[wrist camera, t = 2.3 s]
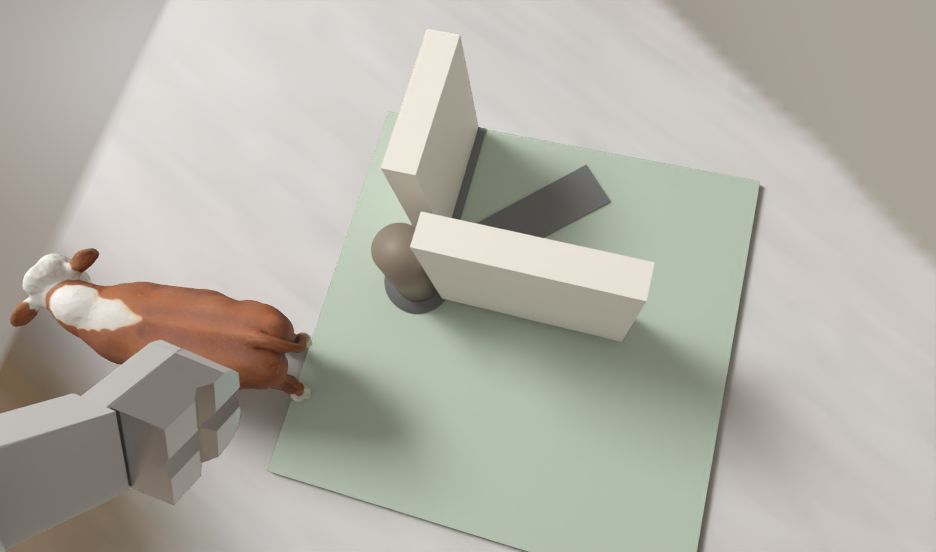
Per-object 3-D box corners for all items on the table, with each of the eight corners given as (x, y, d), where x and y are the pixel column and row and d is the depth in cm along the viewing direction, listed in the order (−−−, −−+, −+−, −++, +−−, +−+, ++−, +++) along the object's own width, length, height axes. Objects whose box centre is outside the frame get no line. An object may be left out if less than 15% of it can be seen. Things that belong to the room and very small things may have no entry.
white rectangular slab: (441, 298, 32) (409, 247, 25) (450, 270, 33) (420, 211, 25) (621, 341, 31) (646, 301, 23) (627, 312, 31) (654, 262, 23)
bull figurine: (135, 279, 36) (14, 221, 28) (354, 343, 32) (286, 297, 25) (99, 355, 34) (-36, 316, 27) (323, 428, 31) (242, 408, 24)
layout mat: (686, 599, 28) (688, 601, 27) (269, 470, 31) (266, 470, 31) (758, 183, 33) (760, 180, 32) (389, 113, 36) (388, 110, 36)
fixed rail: (434, 306, 33) (400, 258, 25) (390, 296, 33) (343, 245, 25) (486, 129, 35) (470, 36, 27) (444, 121, 35) (416, 27, 28)
